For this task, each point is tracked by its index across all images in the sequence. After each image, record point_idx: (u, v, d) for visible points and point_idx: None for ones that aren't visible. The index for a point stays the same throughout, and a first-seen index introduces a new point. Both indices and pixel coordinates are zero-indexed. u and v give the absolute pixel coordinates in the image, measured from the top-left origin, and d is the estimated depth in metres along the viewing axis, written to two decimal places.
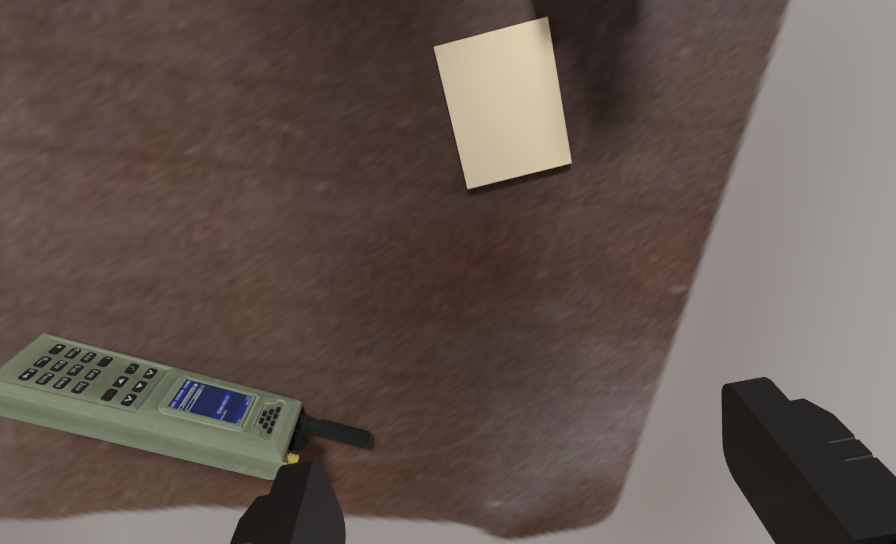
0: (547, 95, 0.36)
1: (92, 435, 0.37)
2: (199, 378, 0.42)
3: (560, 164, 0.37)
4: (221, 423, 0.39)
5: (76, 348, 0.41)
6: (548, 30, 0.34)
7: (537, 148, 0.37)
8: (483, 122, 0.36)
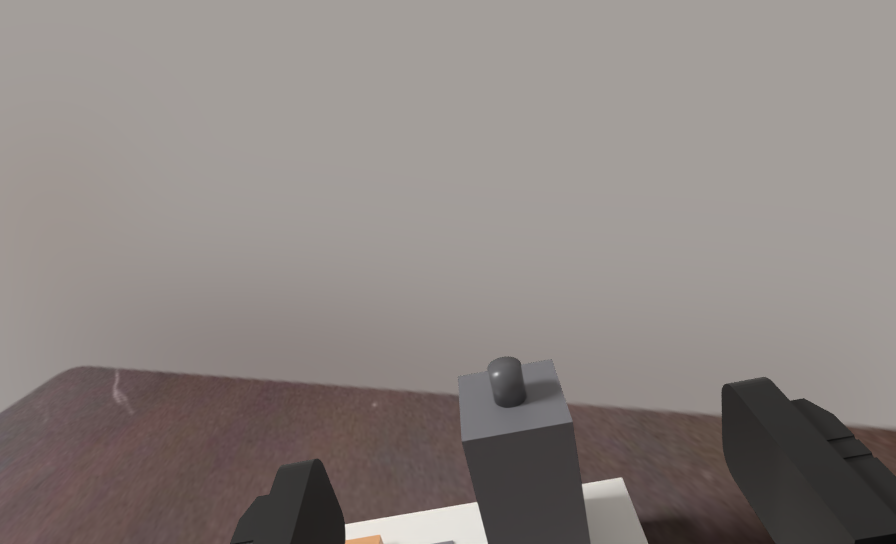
0: None
1: None
2: None
3: None
4: None
5: None
6: None
7: None
8: None
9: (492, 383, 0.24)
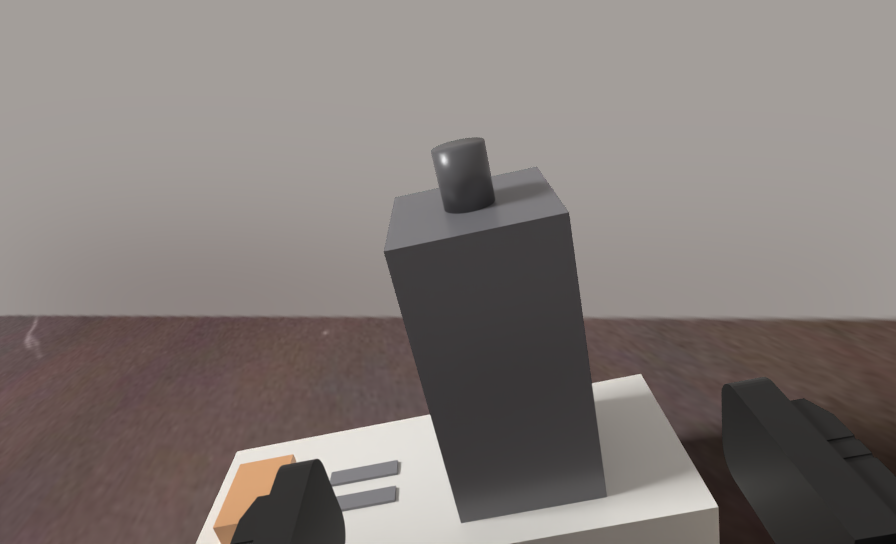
0: None
1: None
2: None
3: None
4: None
5: None
6: None
7: None
8: None
9: (438, 172, 0.15)
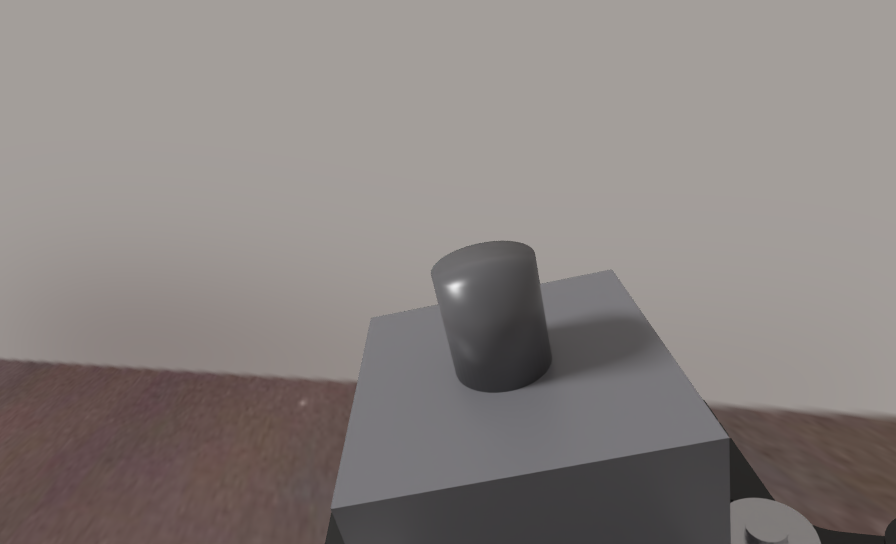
0: None
1: None
2: None
3: None
4: None
5: None
6: None
7: None
8: None
9: (446, 315, 0.07)
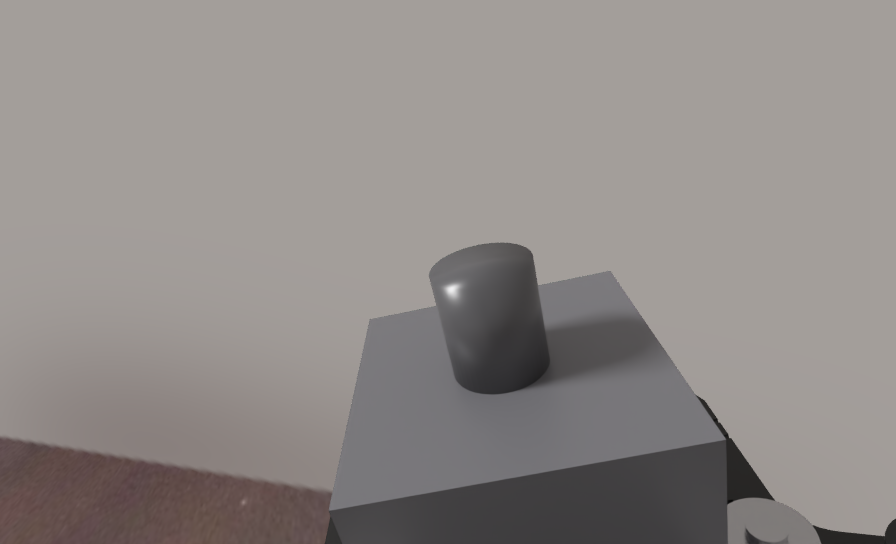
0: None
1: None
2: None
3: None
4: None
5: None
6: None
7: None
8: None
9: (444, 317, 0.07)
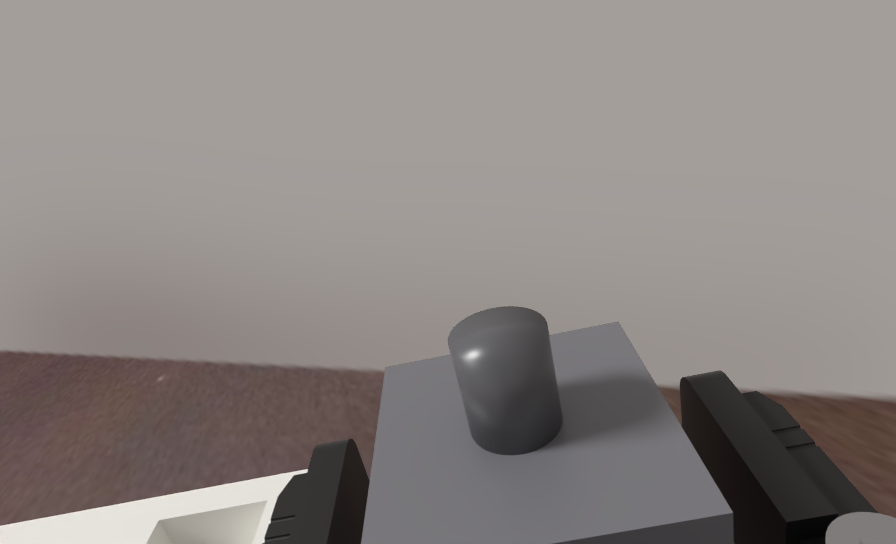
0: None
1: None
2: None
3: None
4: None
5: None
6: None
7: None
8: None
9: (462, 382, 0.08)
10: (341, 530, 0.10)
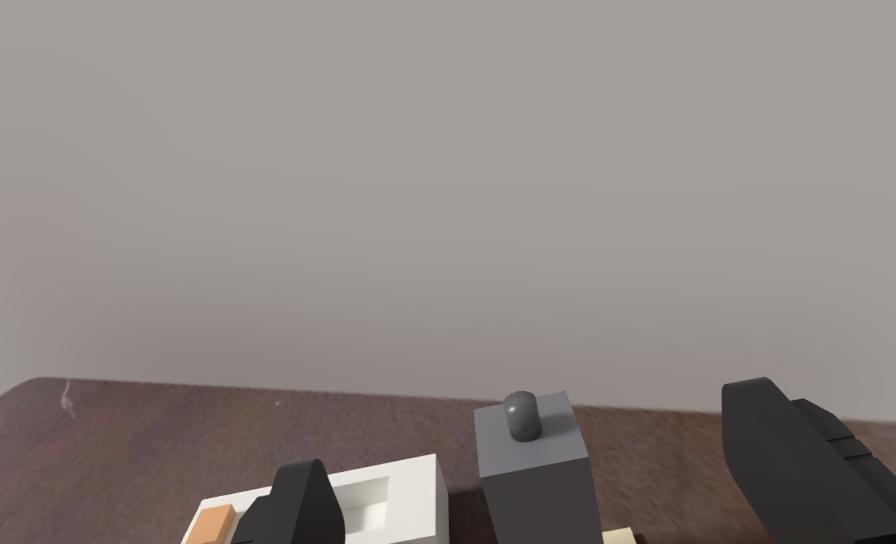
0: None
1: None
2: None
3: (632, 538, 0.31)
4: None
5: None
6: None
7: None
8: None
9: (508, 418, 0.24)
10: None
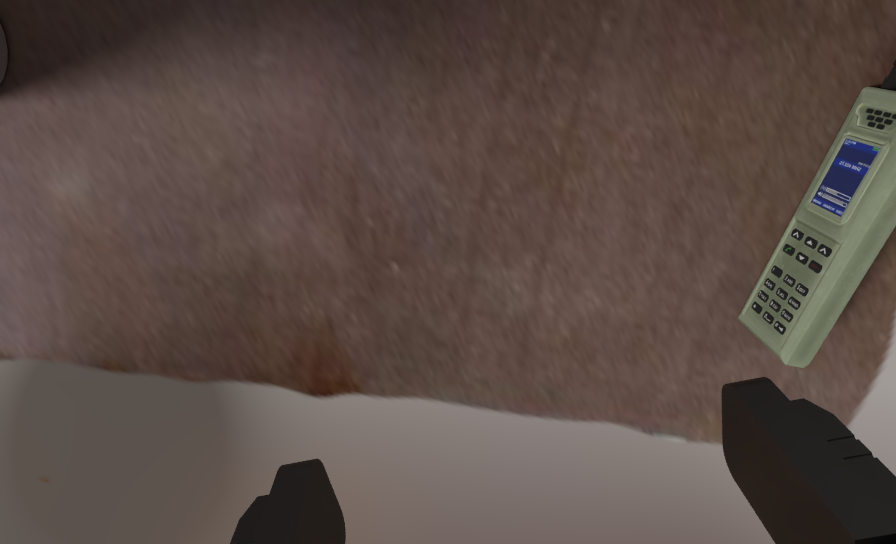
0: None
1: (856, 282, 0.39)
2: (811, 191, 0.42)
3: None
4: (874, 165, 0.37)
5: (758, 293, 0.45)
6: None
7: None
8: None
9: None
10: None
